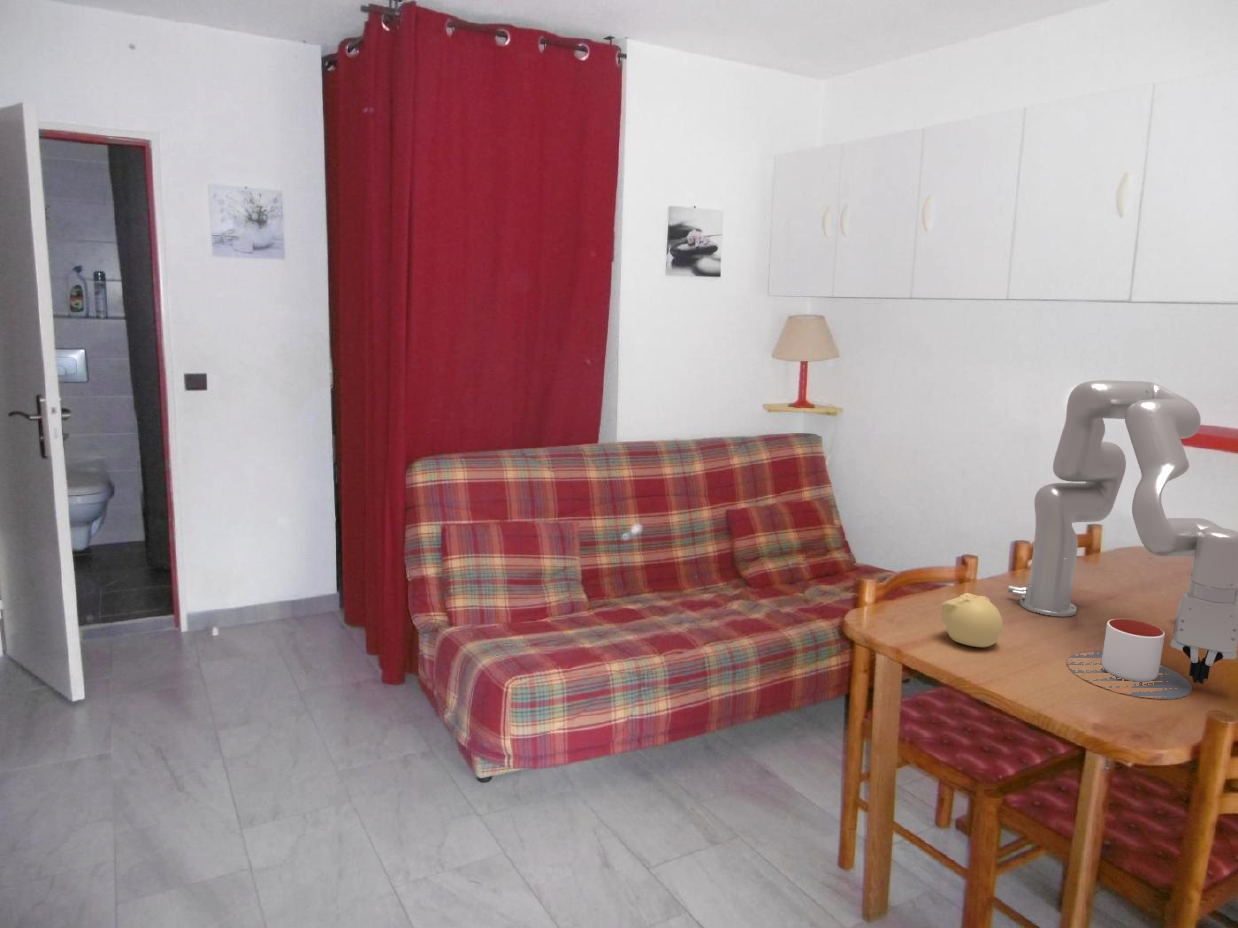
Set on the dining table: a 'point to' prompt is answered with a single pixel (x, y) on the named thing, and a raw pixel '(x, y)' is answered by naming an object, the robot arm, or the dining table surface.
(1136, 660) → the cup
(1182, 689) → the mat
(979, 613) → the sculpture
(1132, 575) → the dining table surface
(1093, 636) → the dining table surface
